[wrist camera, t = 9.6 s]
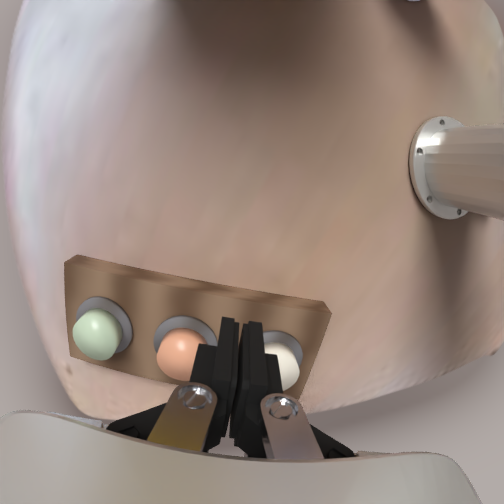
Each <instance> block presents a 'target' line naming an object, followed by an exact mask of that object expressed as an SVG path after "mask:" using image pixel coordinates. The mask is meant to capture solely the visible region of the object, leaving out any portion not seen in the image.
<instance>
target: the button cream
mask: <svg viewBox="0 0 504 504" xmlns="http://www.w3.org/2000/svg"><path fill="white" fill-rule="evenodd" d="M264 347H265V353H268V354H276V355H277V357H278V362H279V369H280V375H281V382H282V388H283V391H284V390H286V389H288V388H290V387H291V386H292V385H293V384H294V383H295V382H296V381H297V379H298V377H299V367H298V364H297V361H296V358H295V355H294V353H293V351H292V349H291V348H290V347H289V346H287V345H285V344H283V343H278V342H270V343H266V344H264Z"/></svg>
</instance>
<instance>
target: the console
mask: <svg viewBox="0 0 504 504" xmlns="http://www.w3.org/2000/svg"><path fill="white" fill-rule="evenodd" d="M64 282H65V307H66V321H67V332H68V342H69V350H70V356H71V357H74V358H77V359H80V360H83V361H87V362H90V363H93V364H96V365H99V366H103V367H106V368H110V369H113V370H117V371H121V372H124V373H128V374H132V375H136V376H140V377H144V378H148V379H153V380H157V381H162V382H167V383H171V384H176V385H181V384H183V383H187V382H189V381H181V380H176V379H173V378H171V377H169V376H168V375H166V374H165V373H164V372H163V371H162V370H161V369H160V367H159V365H158V363H157V353H158V350H159V347H160V344H161V342H162V339H163V337H164V335H165V334H166V333H167V332H168V331H170V330H172V329H175V328H189V329H192V330H195V331H197V332H198V333H200V334H201V335H202V336H203V337H204V338H205V340H206V342H207V344H208V345H213V346H217V345H218V338H219V332H220V326H221V319H222V316H223V317H229V318H235V322H239V342H240V337H241V332H242V327H243V323H245V324H248V322H249V321H255V322H262V327H263V337H264V344H266V343H270V342H278V343H283V344H285V345H287V346H289V347H290V348H291V349H292V351H293V353H294V355H295V358H296V361H297V364H298V367H299V377H298V379H297V381H296V382H295V383H294V384H293V385H292V386H291V387H290V388H288V389H286V390H284V391H283V394H286V395H289V396H291V397H293V398H295V399H299V398H300V395H301V393H302V391H303V388H304V386H305V383H306V381H307V379H308V376H309V374H310V371H311V369H312V366H313V364H314V361H315V358H316V356H317V353H318V351H319V348H320V345H321V343H322V340H323V337H324V334H325V332H326V329H327V326H328V323H329V320H330V317H331V315H332V313H331V312H330V310H329V309H328V307H327V306H326V304H325V303H324V302H323V301H316V300H309V299H303V298H297V297H290V296H284V295H278V294H272V293H266V292H260V291H254V290H248V289H243V288H237V287H232V286H226V285H221V284H215V283H210V282H204V281H199V280H194V279H189V278H184V277H179V276H174V275H169V274H164V273H159V272H154V271H149V270H144V269H140V268H135V267H130V266H126V265H121V264H116V263H112V262H107V261H103V260H99V259H94V258H90V257H86V256H81V255H76V256H74V257H72V258H71V259H69V260H67V261H66V262H64ZM92 308H101V309H104V310H106V311H108V312H110V313H111V314H112V315H113V316H115V318H116V319H117V320H118V322H119V323H120V325H121V328H122V334H123V335H122V340H121V342H120V343H119V345H118V347H117V349H116V350H115V352H114V354H113V355H112V357H110V358H109V359H107V360H95V359H92V358H90V357H88V356H86V355H85V354H84V353H83V352H82V351H81V350H80V349H79V348H78V347H77V345H76V343H75V341H74V338H73V327H74V325H75V323H76V322H77V321H78V320H79V319H80V318H81V317H82V316H83V314H84V313H85V312H86V311H88V310H89V309H92Z"/></svg>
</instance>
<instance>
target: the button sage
mask: <svg viewBox="0 0 504 504" xmlns="http://www.w3.org/2000/svg"><path fill="white" fill-rule="evenodd" d="M122 335H123V334H122V328H121V325H120V323H119V322H118V320H117V319H116V318H115V316H113V315H112V314H111V313H110V312H108V311H106V310H104V309H101V308H92V309H89V310H88V311H86V312H85V313H84V314H83V316H82V317H81V318H80V319H79V320H78V321H77V322H76V323H75V325H74V327H73V338H74V341H75V343H76V345H77V347H78V348H79V349H80V350H81V351H82V352H83V353H84V354H85V355H86V356H88V357H90V358H92V359H95V360H107V359H109V358H110V357H112V355H113V354H114V352H115V350H116V349H117V347H118V345H119V343H120V342H121V340H122Z"/></svg>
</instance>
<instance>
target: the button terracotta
mask: <svg viewBox="0 0 504 504" xmlns="http://www.w3.org/2000/svg"><path fill="white" fill-rule="evenodd" d="M199 343H201V344H207V342H206V340H205V338H204V337H203V336H202V335H201V334H200V333H198V332H197V331H195V330H192V329H189V328H175V329H172V330H170V331H168V332H167V333H166V334H165V335H164V337H163V339H162V342H161V344H160V347H159V350H158V353H157V363H158V365H159V367H160V369H161V370H162V371H163V372H164V373H165V374H166V375H168V376H169V377H171V378H173V379H176V380H181V381H189V380H190V376H191V372H192V368H193V364H194V360H195V356H196V352H197V348H198V344H199ZM207 345H208V344H207Z"/></svg>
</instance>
